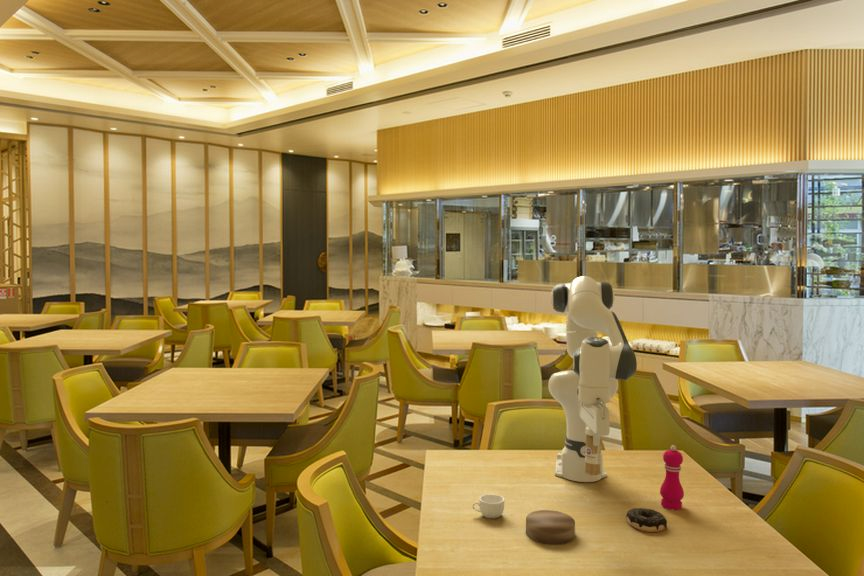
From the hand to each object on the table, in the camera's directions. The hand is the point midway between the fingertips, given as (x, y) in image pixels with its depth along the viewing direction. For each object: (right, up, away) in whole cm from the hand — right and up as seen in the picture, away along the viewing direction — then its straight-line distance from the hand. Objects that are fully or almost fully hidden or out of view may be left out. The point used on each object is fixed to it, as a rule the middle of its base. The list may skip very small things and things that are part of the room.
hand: (593, 442), depth 182 cm
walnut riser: (-12, -27, +2) cm, 30 cm away
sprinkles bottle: (0, -9, +1) cm, 9 cm away
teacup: (-29, -26, +14) cm, 42 cm away
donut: (+18, -27, +8) cm, 34 cm away
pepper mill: (+31, -26, +22) cm, 46 cm away
